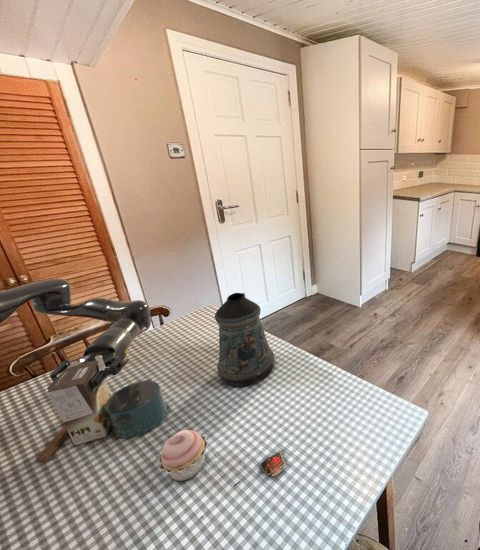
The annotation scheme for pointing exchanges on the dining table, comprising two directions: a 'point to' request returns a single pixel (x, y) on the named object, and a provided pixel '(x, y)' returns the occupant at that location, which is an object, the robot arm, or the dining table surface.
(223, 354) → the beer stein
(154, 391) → the enamel pot
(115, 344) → the robot arm
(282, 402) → the dining table surface
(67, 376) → the coffee box
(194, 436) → the cupcake
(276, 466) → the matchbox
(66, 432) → the wooden spoon
